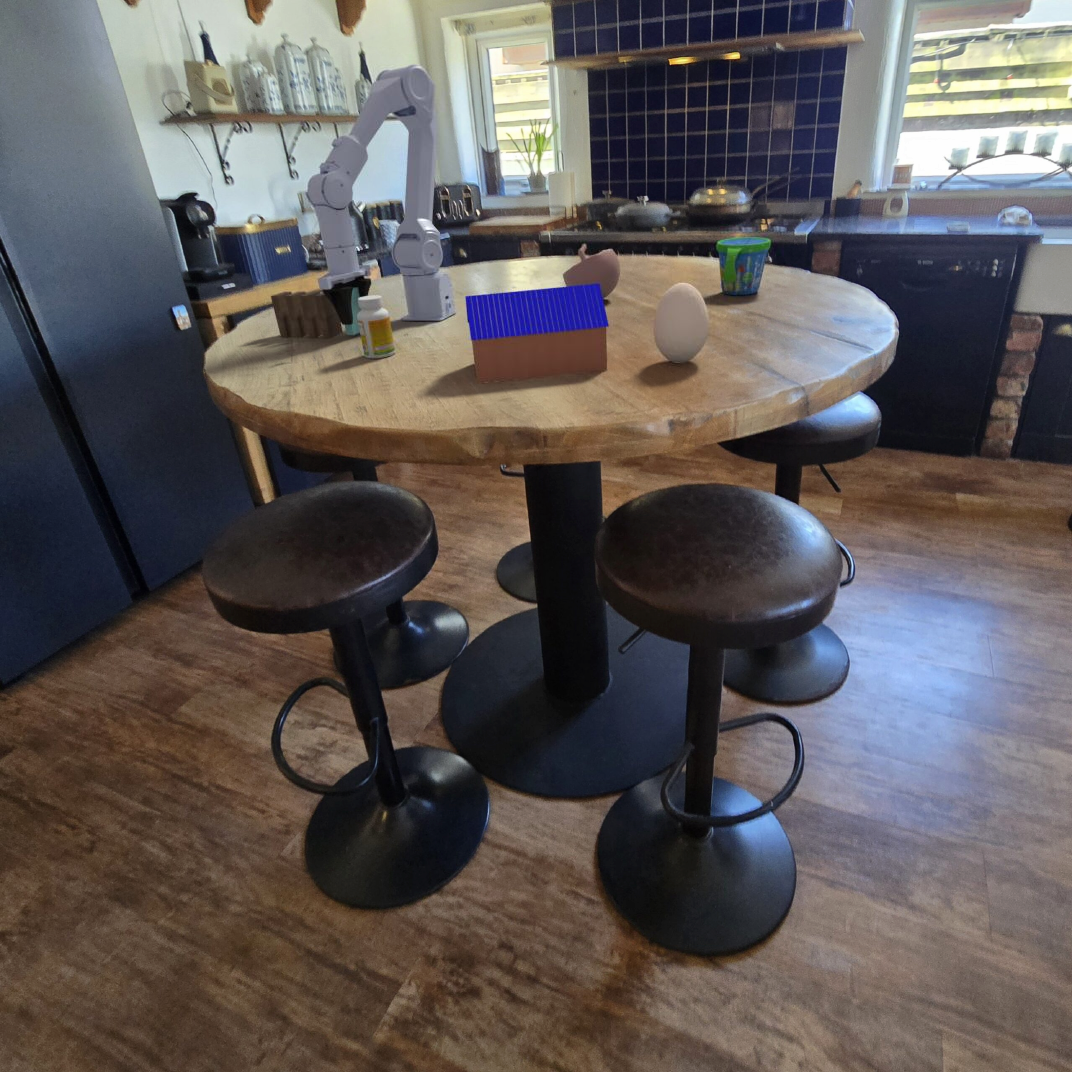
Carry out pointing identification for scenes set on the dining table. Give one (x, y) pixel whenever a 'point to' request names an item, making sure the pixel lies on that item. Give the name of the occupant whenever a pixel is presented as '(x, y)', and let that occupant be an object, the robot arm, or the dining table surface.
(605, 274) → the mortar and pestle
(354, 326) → the teal tile
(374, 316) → the supplement bottle
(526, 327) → the house
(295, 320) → the tile
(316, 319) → the tile
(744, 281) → the snack cup
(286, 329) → the tile
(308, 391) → the dining table surface
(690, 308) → the egg
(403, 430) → the dining table surface
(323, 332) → the tile
